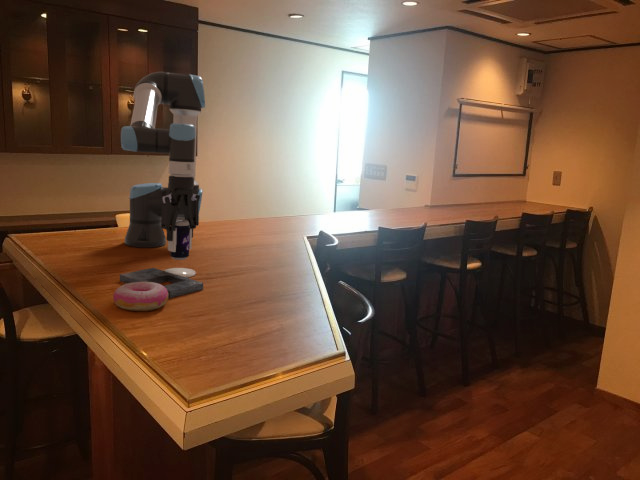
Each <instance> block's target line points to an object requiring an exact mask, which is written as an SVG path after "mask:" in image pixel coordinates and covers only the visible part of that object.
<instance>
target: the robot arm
mask: <svg viewBox="0 0 640 480" xmlns="http://www.w3.org/2000/svg"><path fill="white" fill-rule="evenodd" d="M133 90H134V91H133V98H134V106H133V110H132V116H131V119H130V120H131V121H130V125H127V126H126V125H125V126H122V128H121V130H120V146H121V149H122V150H123V151H131V152H139V153H158V154H159V153H160V154H169V156H168V157H169V158H168V174H169V176H168V181H167V186H163V184H162V183H161V182H148V183H138V184H134V185H132V186H131V187H130V190H129V198H128V199H129V225H128V228H127V230H126V235H125V236H124V245H126V246H128V247H133V248H158V247H163V246H165V245H166V243H167V251H169V252H170V251H172V252H176V231H174V227H175V223H176V219H184V220H188V221H189V224H190V240H189V250H192V244H193V243H192V241H193V240H192V239H193V237H194V230H195V229H196V228H197V226H199V224H200V222H199V221H200V217H199V216H200V215H199V214H200V211H201V206H202V200H203V191H204V190H203V189H202V188H200V184H199V183H198V181H197V180H196V162H197V161H196V160H197V130H198V129H197V124H198V118H197V117H198V116H199V115H200V114H201V113H202V109H205V108H206V99H205V98H206V97H205V96H206V95H205V89H204V80H203V78H202V77H201V76H200V75H195V74H191V73H189V74H188V73H179V72H177V73H176V72H167V71H166V72H165V71H156V72H151V73H149V74H147V75H145V76H144V77H142V78H141V79H140V80H139V81H138V82H137V83H136V85H135V86H134V89H133ZM159 105H168V106H169V108H168V109H169V111H170V112H171V113H172V115H173V121H172V122H173V123H170V125H169V128H168V129H167V128H156V123H157V115H158V106H159ZM164 230H166V235H165V231H164Z"/></svg>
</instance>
